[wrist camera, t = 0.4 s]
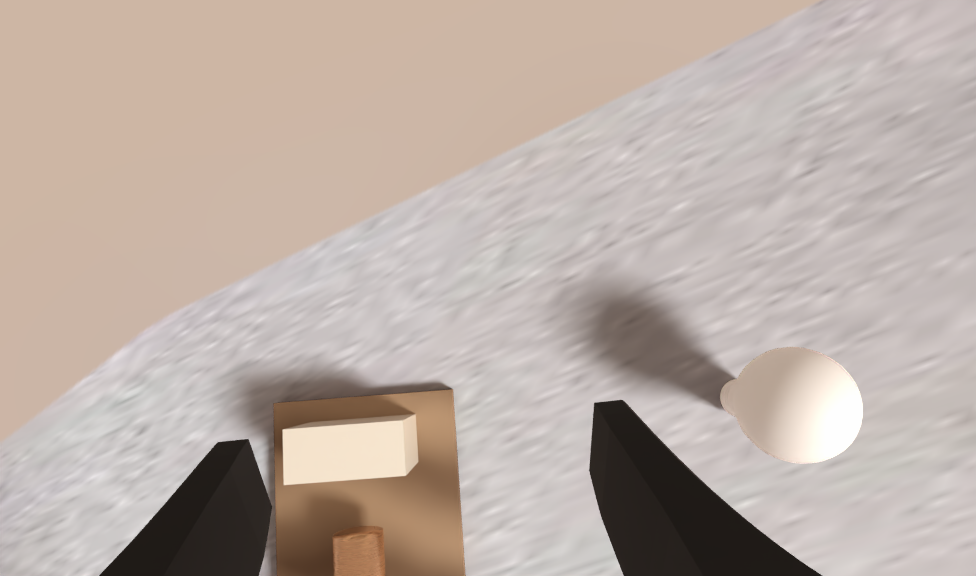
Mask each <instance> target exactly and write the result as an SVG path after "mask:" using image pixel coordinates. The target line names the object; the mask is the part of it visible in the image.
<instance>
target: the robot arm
mask: <svg viewBox="0 0 976 576" xmlns="http://www.w3.org/2000/svg"><path fill="white" fill-rule="evenodd" d="M589 471H590V475H591V479H592V483H593V487H594V491H595V495H596V499H597V503H598V506H599V510H600V514H601V517H602V520H603V522H604V525H605V528H606V530H607V533H608V536H609V538H610V541H611V544H612V546H613V549H614V551H615V554H616V557H617V559H618V562H619V564H620V567H621V570H622V572H623V575H624V576H822V575H820V574H819V573H817V572H816V571H814V570H813V569H811V568H810V567H808V566H807V565H805V564H804V563H802V562H801V561H800V560H798V559H797V558H795V557H794V556H793V555H791V554H790V553H789V552H787V551H786V550H784V549H783V548H782V547H780V546H779V545H778V544H776V543H775V542H774V541H772V540H771V539H770V538H769V537H767V536H766V535H765V534H763V533H762V532H761V531H760V530H758V529H757V528H756V527H754V526H753V525H752V524H751V523H750V522H748V521H747V520H746V519H745V518H743V517H742V516H741V515H740V514H739V513H738V512H736V511H735V510H734V509H733V508H732V507H730V506H729V505H728V504H727V503H726V502H725V501H724V500H723V499H721V498H720V497H719V496H718V495H717V494H716V493H715V492H713V491H712V490H711V489H710V488H709V487H708V486H707V485H706V484H705V483H704V482H703V481H701V480H700V479H699V478H698V477H697V476H696V475H695V474H694V473H693V472H692V471H691V470H690V469H689V468H688V467H687V466H686V465H685V464H684V463H683V462H682V461H681V460H680V459H679V458H678V457H677V456H676V455H675V454H674V453H673V452H672V451H671V450H670V449H669V448H668V447H667V446H666V445H665V444H664V443H663V442H662V441H661V440H660V439H659V438H658V437H657V436H656V435H655V434H654V433H653V432H652V431H651V430H650V428H649V427H648V426H647V425H646V424H645V423H644V422H643V421H642V420H641V419H640V418H639V417H638V415H637V414H636V413H635V412H634V411H633V410H632V409H631V408H630V407H629V406H628V405H627V404H626V403H625V402H624V401H623V400H617V401H607V402H598V403H594V414H593V428H592V441H591V455H590V469H589ZM271 509H272V506H271V503H270V500H269V497H268V494H267V491H266V488H265V486H264V483H263V480H262V477H261V474H260V471H259V468H258V465H257V462H256V460H255V457H254V454H253V451H252V448H251V445H250V442H249V439H244V440H235V441H225V442H218V443H217V444H216V445H215V446H214V447H213V448H212V449H211V451H210V452H209V453H208V454H207V455H206V456H205V457H204V459H203V460H202V461H201V462H200V463H199V464H198V466H197V467H196V468H195V469H194V470H193V472H192V473H191V474H190V475H189V476H188V477H187V479H186V480H185V481H184V482H183V483H182V485H181V486H180V487H179V488H178V489H177V490H176V492H175V493H174V494H173V495H172V496H171V497H170V499H169V500H168V501H167V502H166V503H165V504H164V506H163V507H162V508H161V509H160V510H159V511H158V512H157V513H156V515H155V516H154V517H153V518H152V519H151V520H150V521H149V523H148V524H147V525H146V526H145V527H144V528H143V529H142V530H141V532H140V533H139V534H138V535H137V536H136V537H135V538H134V539H133V540H132V542H131V543H130V544H129V545H128V546H127V547H126V548H125V549H124V550H123V551H122V552H121V553H120V554H119V555H118V556H117V557H116V558H115V560H114V561H113V562H112V563H111V564H110V565H109V566H108V567H107V568H106V569H105V570H104V571H103V572H102V573H101V574H100V575H99V576H259V572H260V569H261V565H262V561H263V558H264V553H265V547H266V541H267V535H268V529H269V522H270V515H271Z"/></svg>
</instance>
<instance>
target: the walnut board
mask: <svg viewBox="0 0 976 576" xmlns="http://www.w3.org/2000/svg"><path fill="white" fill-rule="evenodd" d="M408 414H416V428H417V445H418V463H417V464H416V465H415V466H414V467H413V469H412V470H411V471H410V472H409V473H408V474H407V475H406V476H398V477H385V478H372V479H358V480H345V481H332V482H319V483H306V484H293V485H284V478H283V431H282V430H283V429H286V428H290V427H294V426H298V425H302V424H305V423H309V422H317V421H330V420H343V419H356V418H369V417H382V416H395V415H408ZM274 453H275V505H276V558H277V576H334V566H333V537H332V536H333V535H334V534H335V533H337V532H339V531H341V530H344V529H348V528H352V527H359V526H379V527H382V528H383V532H384V553H385V575H386V576H465V563H464V548H463V533H462V518H461V503H460V488H459V473H458V457H457V442H456V427H455V412H454V397H453V389H449V390H437V391H424V392H411V393H398V394H385V395H372V396H359V397H346V398H333V399H320V400H307V401H294V402H281V403H274Z"/></svg>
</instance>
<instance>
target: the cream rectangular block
mask: <svg viewBox="0 0 976 576" xmlns="http://www.w3.org/2000/svg"><path fill="white" fill-rule="evenodd" d="M282 431H283V478H284V485H293V484H306V483H319V482H332V481H345V480H358V479H372V478H385V477H398V476H406V475H407V474H408V473H409V472H410V471H411V470H412V469H413V467H414V466H415V465H416V464H417V463H418V445H417V428H416V414H408V415H395V416H382V417H369V418H356V419H343V420H330V421H317V422H309V423H305V424H302V425H298V426H294V427H290V428H286V429H283V430H282Z"/></svg>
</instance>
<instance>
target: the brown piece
mask: <svg viewBox="0 0 976 576" xmlns="http://www.w3.org/2000/svg"><path fill="white" fill-rule="evenodd" d="M332 537H333V566H334V576H386V575H385V553H384V532H383V528H382V527H379V526H359V527H352V528H348V529H344V530H341V531H339V532H337V533H335V534H334V535H333V536H332Z"/></svg>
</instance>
